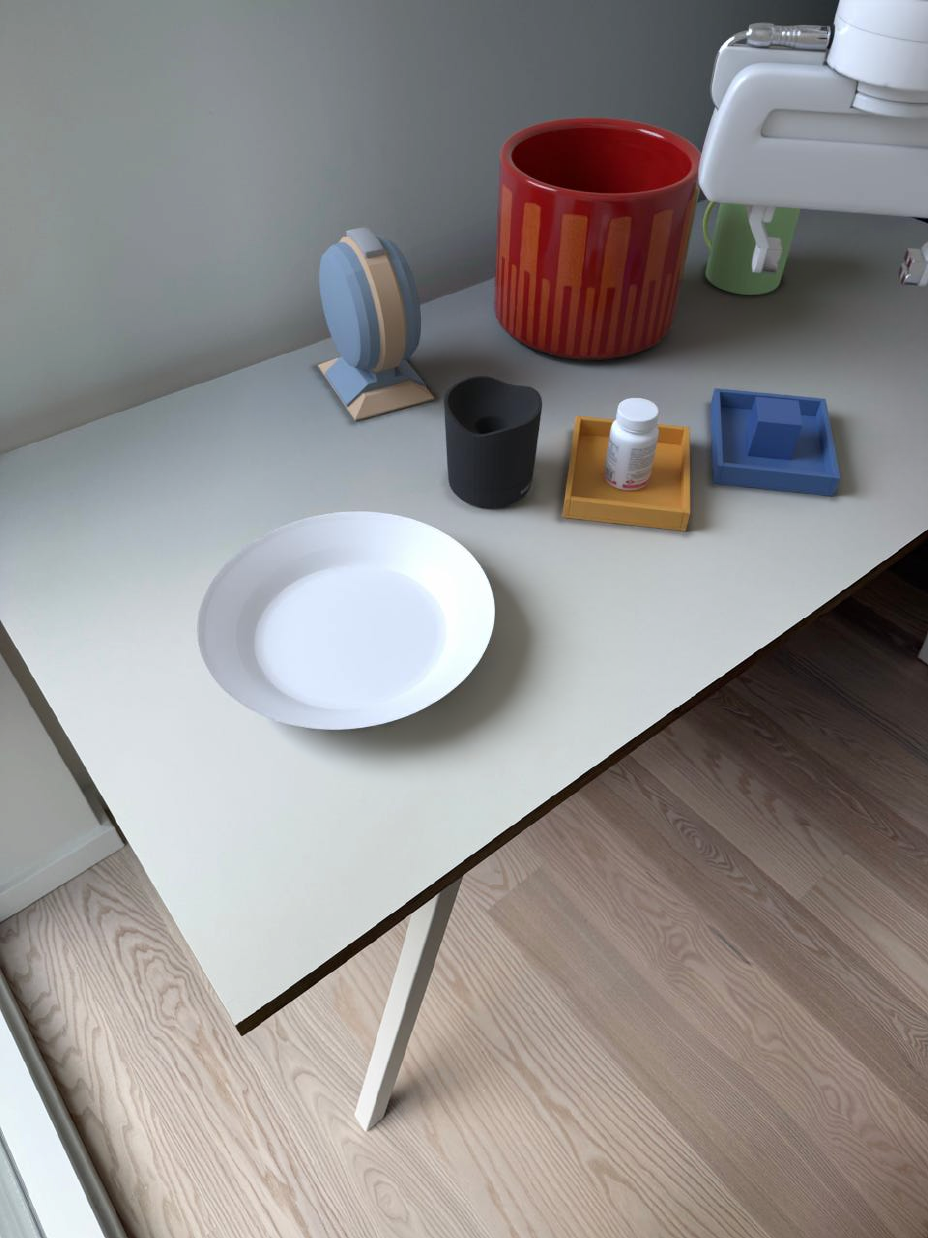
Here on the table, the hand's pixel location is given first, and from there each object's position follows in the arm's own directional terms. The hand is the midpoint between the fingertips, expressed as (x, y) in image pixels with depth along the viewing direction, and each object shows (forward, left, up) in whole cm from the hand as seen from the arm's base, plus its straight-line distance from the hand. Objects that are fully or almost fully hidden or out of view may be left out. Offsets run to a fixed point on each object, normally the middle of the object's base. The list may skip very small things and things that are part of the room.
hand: (836, 275), depth 59 cm
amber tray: (+10, -16, -31) cm, 36 cm away
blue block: (-5, -24, -31) cm, 39 cm away
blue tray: (-5, -24, -31) cm, 40 cm away
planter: (+17, -48, -31) cm, 60 cm away
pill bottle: (+10, -16, -31) cm, 36 cm away
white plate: (+33, +10, -31) cm, 47 cm away
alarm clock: (+40, -29, -31) cm, 58 cm away
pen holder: (+24, -13, -31) cm, 41 cm away
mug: (-3, -64, -31) cm, 71 cm away
